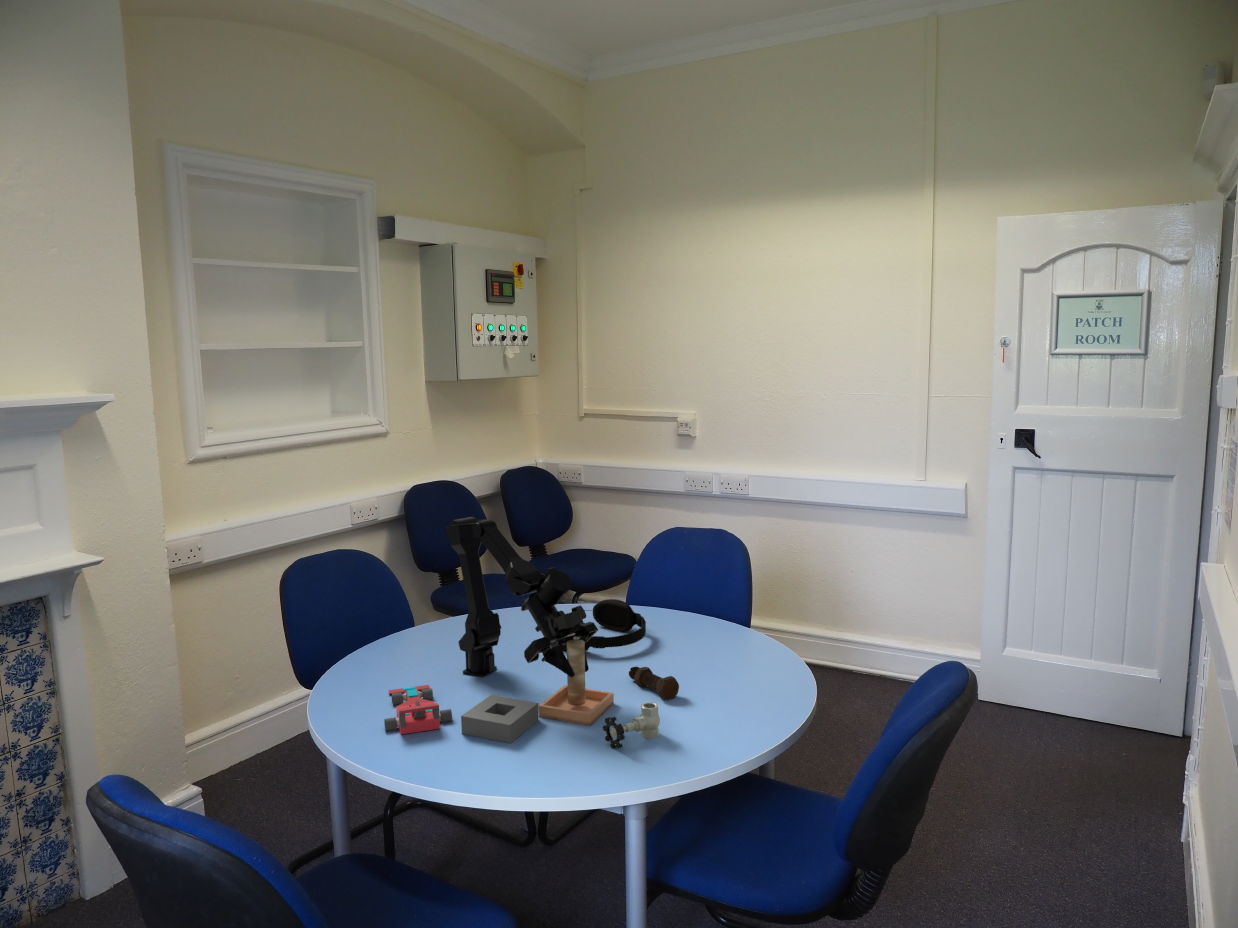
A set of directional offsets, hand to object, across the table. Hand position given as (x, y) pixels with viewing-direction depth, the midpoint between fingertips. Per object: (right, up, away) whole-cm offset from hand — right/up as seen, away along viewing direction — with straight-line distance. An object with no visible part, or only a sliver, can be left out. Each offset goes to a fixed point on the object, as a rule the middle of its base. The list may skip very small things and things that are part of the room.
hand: (580, 673), depth 188 cm
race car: (-38, -10, +3) cm, 39 cm away
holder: (-17, -10, -6) cm, 21 cm away
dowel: (-1, -7, +2) cm, 7 cm away
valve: (+12, -11, -13) cm, 21 cm away
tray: (-1, -9, +2) cm, 9 cm away
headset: (+2, -3, +50) cm, 50 cm away
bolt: (+17, -7, +13) cm, 23 cm away
